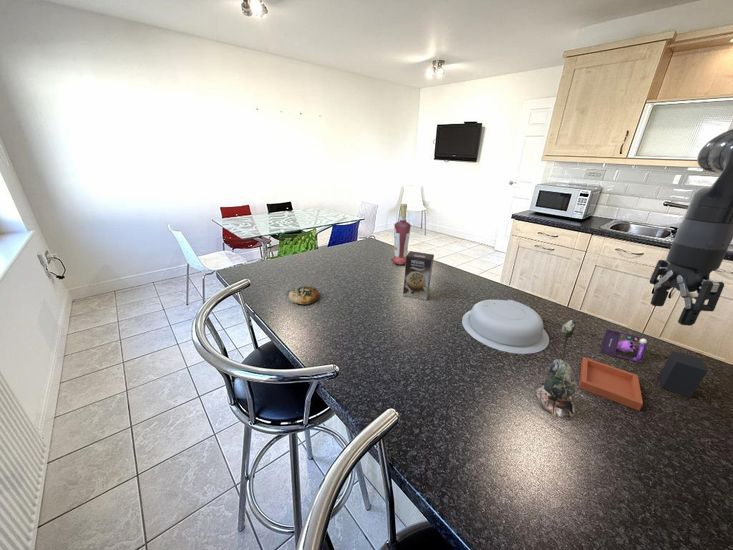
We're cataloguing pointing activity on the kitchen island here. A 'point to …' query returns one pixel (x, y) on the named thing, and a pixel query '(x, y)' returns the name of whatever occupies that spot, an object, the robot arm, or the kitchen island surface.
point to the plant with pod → (559, 383)
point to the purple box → (622, 344)
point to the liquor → (401, 237)
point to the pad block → (682, 374)
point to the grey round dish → (506, 326)
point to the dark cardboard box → (418, 275)
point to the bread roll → (304, 295)
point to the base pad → (611, 383)
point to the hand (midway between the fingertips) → (669, 314)
